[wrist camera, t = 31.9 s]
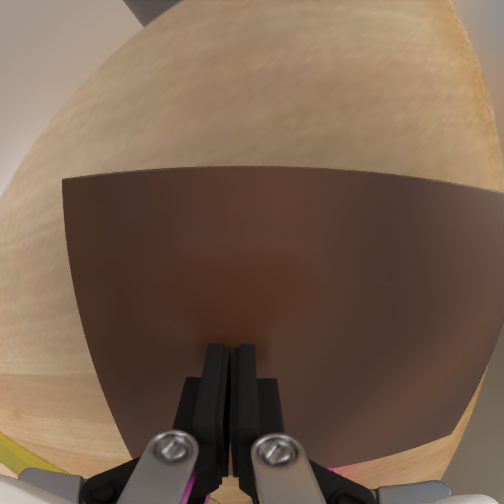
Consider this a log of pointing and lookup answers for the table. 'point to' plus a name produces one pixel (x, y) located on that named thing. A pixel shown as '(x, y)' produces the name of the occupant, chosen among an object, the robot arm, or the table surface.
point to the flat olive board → (21, 457)
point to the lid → (291, 296)
